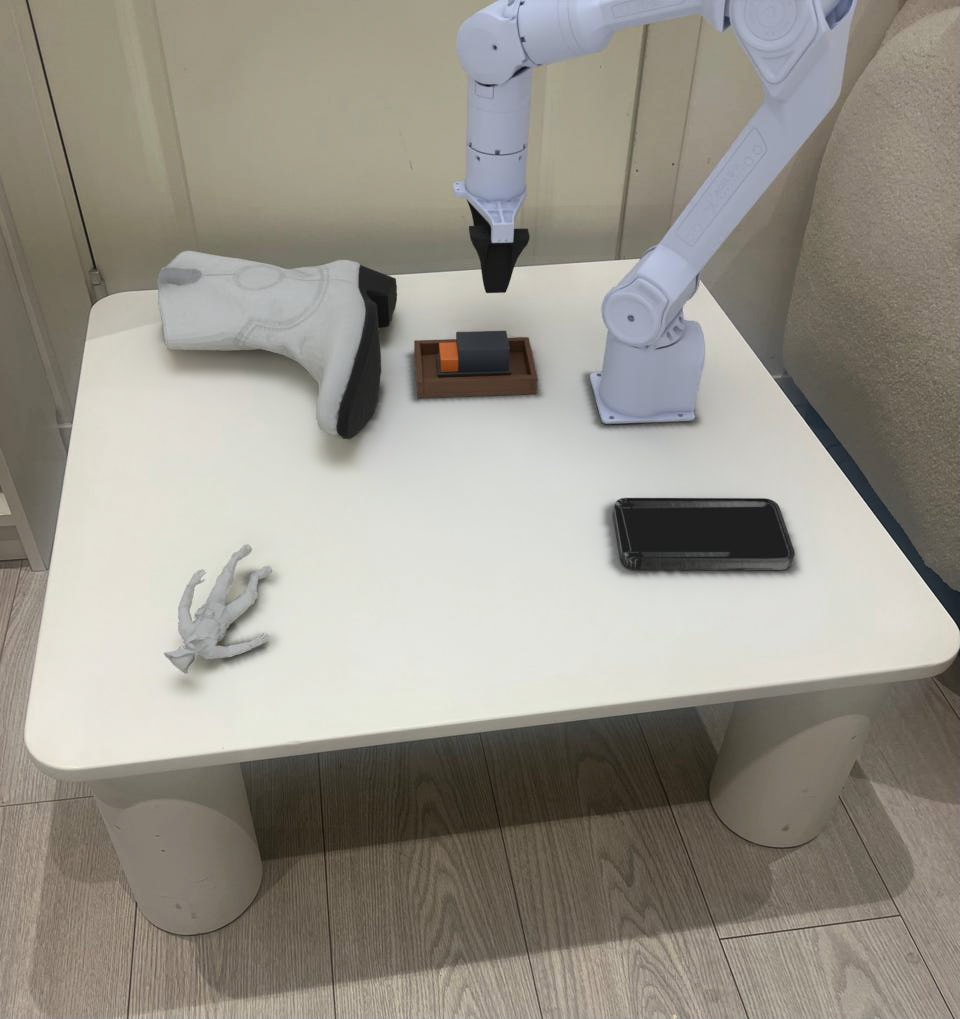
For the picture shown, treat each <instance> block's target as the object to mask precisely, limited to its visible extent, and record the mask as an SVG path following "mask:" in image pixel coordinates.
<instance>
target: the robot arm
mask: <svg viewBox="0 0 960 1019" xmlns="http://www.w3.org/2000/svg"><path fill="white" fill-rule="evenodd" d="M857 2H858V0H496V1H494V2H493V3H491V4H489V5H487V6H485V7H484V8H482V9H481V10H478V11H476V12H475V13H474V14H472V15H470V16H469V17H468V18H467V19H465V21H463V22H462V23H461V25H460V26H459V29H458V30H457V34H456V37H455V50H456V51H455V52H456V55H457V60H458V61H459V64H460V65H461V67H462V69H463V70H464V72H465V73H466V74H467V85H466V86H467V89H466V90H467V91H466V93H467V95H466V138H465V139H466V141H465V142H466V143H465V144H466V145H465V180H463V181H455V182H454V183H453V184H452V191H453V196H454V198H455V199H456V198H457V199H465V200H466V202H467V204H468V207H469V210H470V213H471V218H472V224H473V225H469V226H468V234H469V239H470V241H471V244H472V246H473V247H474V249H475V251H476V254H477V256H478V259H479V263H480V271H481V278H482V284H483V288H484V291H485V293H486V294H505V293H507V291H508V289H509V286H510V282H511V279H512V277H513V272H514V270H515V267H516V263H517V261H518V259H519V258H520V255H521V254H522V252H523V251H524V250H525V248H526V247H527V246H528V244H529V241H530V238H531V237H530V235H531V234H530V231H529V228H515V221H516V219H517V217H518V215H519V212H520V211H521V208H522V207H523V205H524V202H525V201H526V198H527V194H528V185H527V183H526V178H527V166H528V164H527V163H528V147H529V129H530V116H531V115H530V114H531V113H530V112H531V100H532V82H533V73H534V68H541V67H544V66H549V65H554V64H557V63H561V62H565V61H570V60H573V59H577V58H581V57H582V58H583V57H586V56H590V55H593V54H598V53H601V52H603V51H605V50H606V49H607V48H608V46H609V45H610V43H611V41H612V39H613V37H614V35H615V33H616V32H617V31H621V30H626V29H631V28H635V27H640V26H646V25H651V24H655V23H660V22H664V21H668V20H669V21H670V20H673V19H678V18H679V19H680V18H682V17H687V16H688V17H689V16H693V15H700V16H701V17H702V18H703V19H704V20H705V21H706V22H707V23H708V24H709V25H710V26H711V27H712V28H713V29H714V30H715V31H717V32H718V33H720V34H723V33H724V32H725V31H726V30H728V29H729V28H730V27H731V30H732V32H733V34H734V36H735V39H736V41H737V43H738V44H739V45H740V48H741V49H742V51H743V52H744V54H745V56H746V58H747V59H748V61H749V62H750V64H751V66H752V68H753V69H754V71H755V73H756V74H757V75H758V77H759V80H760V83H761V89H762V92H763V96H764V98H763V99H764V100H763V102H762V103H761V104H760V106H759V107H758V108H757V110H756V111H755V113H754V114H753V115H752V117H751V118H750V119H749V121H748V122H747V123H746V125H745V126H744V128H743V129H741V131H740V132H739V134H738V135H737V137H736V138H735V139H734V141H733V142H732V144H731V145H730V147H729V148H728V149H727V151H726V152H725V153H724V155H723V156H722V157H721V158H720V160H719V162H717V164H716V165H715V167H714V168H713V169H712V171H711V172H710V174H709V175H708V177H707V178H706V179H705V180H704V182H703V183H702V184H701V186H700V187H699V188H698V190H697V191H696V193H695V194H694V195H693V197H692V198H691V200H690V201H689V202H688V204H687V205H686V206H685V207H684V209H683V210H682V211H681V213H680V214H679V215H678V217H677V218H676V220H675V221H674V222H673V224H672V225H671V226H670V228H669V229H668V231H667V232H666V233H665V235H664V236H663V237H662V239H661V240H660V241H659V243H658V244H655V245H653V246H651V247H649V248H647V249H646V250H645V251H644V252H643V254H642V255H641V256H640V258H639V261H638V262H636V264H634V266H633V267H632V268H631V269H630V271H628V272H627V274H626V275H624V277H623V278H622V279H621V280H620V281H619V282H618V283H617V285H615V286H614V287H612V288H611V289H610V290H609V291H607V293H606V294H605V296H604V298H603V300H602V303H601V308H600V309H601V310H600V311H601V318H602V321H603V323H604V325H605V327H606V329H607V334H606V340H605V346H604V347H605V348H604V354H603V360H602V361H603V362H602V369H601V372H599V371H598V372H591V373H590V374H589V381H590V385H591V388H592V392H593V395H594V399H595V402H596V405H597V410H598V413H599V418H600V420H601V422H602V423H603V424H606V425H612V424H638V423H643V424H644V423H665V422H666V423H667V422H692V421H694V420H695V418H696V413H695V411H694V410H695V407H696V402H697V397H698V393H699V389H700V383H701V380H702V376H703V371H704V367H705V366H704V365H705V360H706V359H705V357H706V341H705V336H704V331H703V328H702V326H701V324H700V322H698V321H696V320H689V319H685V316H684V306H685V305H686V304H687V302H688V301H690V300H691V299H692V298H693V297H694V296H695V294H696V293H697V291H698V289H699V286H700V282H701V276H702V272H703V269H704V268H705V266H706V265H707V264H708V262H710V260H711V258H712V257H713V256H714V255H715V253H716V252H717V251H718V250H719V249H720V247H721V246H722V245H723V244H724V243H725V241H726V240H727V239H728V237H730V235H731V234H732V233H733V231H734V230H736V228H737V226H738V225H739V224H740V223H741V221H743V219H744V218H745V217H746V215H747V214H748V213H749V212H750V210H751V209H752V208H753V207H754V205H755V204H756V203H757V201H758V200H759V199H760V198H761V197H762V196H763V194H764V193H765V192H766V191H767V189H769V187H770V185H771V184H772V183H773V182H774V181H775V179H777V177H778V176H779V175H780V173H781V172H782V171H783V170H784V169H785V167H786V166H787V164H788V163H789V162H790V161H791V159H792V158H793V157H795V155H796V153H797V152H798V151H799V150H800V148H802V146H803V145H804V144H805V142H806V141H807V140H808V139H809V138H810V136H811V135H812V133H813V132H814V131H815V130H816V128H818V126H819V125H820V123H821V122H822V121H824V119H825V118H826V116H827V115H828V114H829V113H830V111H831V110H832V109H833V108H834V106H835V105H836V103H837V101H838V99H839V97H840V95H841V93H842V92H841V91H842V86H843V78H844V74H845V73H844V71H845V66H846V58H847V52H848V44H849V38H850V30H851V25H852V20H853V17H854V15H855V11H856V7H857Z"/></svg>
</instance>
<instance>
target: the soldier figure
mask: <svg viewBox="0 0 960 1019" xmlns="http://www.w3.org/2000/svg"><path fill="white" fill-rule="evenodd" d="M252 550H253V548H252V546H251V545H250V544H248V543H247V544H243V545H242V547H241V548H240V549H239V550H237V551H236V552H235V551H234V552H233V553H232V555H231V557H230V559H229V560H228V562H227V563H226V564H225V565H224V567H223V568H222V571H221V573H220V574H219V575H218V576H217V577H216V581H215V584H214V586H213V587H212V589H211V590H210V593H209V594H208V597H207V598H206V600H205V603H203V604H202V605H201V606H200V608H197V610H196V612H195V613H194V616H193V618H194V620H193V618H192V615H191V612H190V610H191V608H192V603H193V599H194V593H195V588H196V586H198V585H201V584H202V583H204V582H205V580H206V579H202V578H203V577H204V576H205V574H207V571H206V570H205V569H203V568H201V569H198V570H197V571H196V572H195V573H193V574H192V576H191V579H190V580H189V582H188V584H186V585H185V589H184V591H183V593H182V596H181V599H180V601H179V605H178V607H177V619H178V622H177V624H178V625H177V626H178V627H177V628H178V630H177V632H178V634H179V635H180V636H181V639H182V643H183V646H179V647H178V648H177V649H176V650H173V651H167V652H163V655H164V657H165V658H167V659H168V660H169V661H170V663H171V664H172V665H173V666H174V667H175V668H177V669H178V670H179V671H181V672H182V673H183V674H185V675H187V674H188V673H189V670H190V666H192V665H193V664H194V663H195V662H196V660H197V656H200V657H202V658H203V659H206V660H213V659H214V660H216V659H224V658H231V657H234V656H238V655H241V654H244V653H246V652H248V651H251V650H252V649H254V648H256V647H259V646H262V645H263V644H265V643H267V642H268V641H269V640H270V638H269V635H268V634H267V633H264V632H262V633H261V634H259V635H258V636H256V637H255V638H254V639H252V640H251V641H244V642H240V643H236V644H230V645H226V646H224V645H220V644H219V645H218V642H220V641H222V640H223V639H224V637H225V636H226V634H227V629H229V627H230V625H231V624H233V623H234V622H235V621H236V620H237V619H238V618H239V617H241V616H242V615H243V614H245V612H246V611H247V610H248V609H249V607H251V606H252V605H254V604H255V602H256V600H258V597H259V592H258V585H259V581H260V580H262V579H264V578H267V577H269V576H271V574H272V573H273V568H272V567H271V566H269V565H265V566H263V567H262V568H261V569H260V570H258V571H253V572H251V574H250V575H249V581H248V584H247V586H246V588H245V590H243V594H241V595H238V597H237V598H236V599H235V600H233V601H232V602H229V603H227V601H228V600H227V599H228V593H229V591H230V590H231V588H232V586H233V583H234V580H235V577H234V576H235V570H236V568H237V565H238V562H240V561H241V560H242V559H243V558H246V557H247V556H249V555H250V554H251V553H252ZM201 579H202V580H201Z"/></svg>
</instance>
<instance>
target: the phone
mask: <svg viewBox="0 0 960 1019" xmlns="http://www.w3.org/2000/svg"><path fill="white" fill-rule="evenodd" d="M612 517H613V523H614V529H615V534H616V539H617V540H616V542H617V547H618V552H619V559H620V561H621V564H622V565H623V567H624V566H625V567H626V568H628V569H630V570H638V571H639V570H640V571H641V570H645V571H646V570H649V571H650V570H652V571H653V570H658V571H659V570H662V571H663V570H664V571H665V570H667V571H669V570H670V571H671V570H672V571H673V570H674V571H675V570H678V571H679V570H683V571H685V570H687V571H689V570H691V571H692V570H696V571H698V570H699V571H704V570H705V571H706V570H710V571H711V570H713V571H716V570H718V571H719V570H720V571H722V570H723V571H724V570H725V571H728V570H731V571H733V570H735V571H736V570H737V571H740V570H744V571H754V570H755V571H758V570H761V571H763V570H764V571H766V570H767V571H768V570H769V571H770V570H771V571H773V570H774V571H778V570H779V571H781V570H787V569H788V568H790V567H791V566H792V563H793V560H794V558H795V554H796V553H795V549H794V546H793V543H792V540H791V537H790V533H789V531H788V528H787V525H786V522H785V518H784V517H783V513H782V510H781V507H780V505H779V504H778V503H777V502H776V501H774V500H773V499H769V498H766V497H765V498H764V497H762V498H761V497H755V498H754V497H753V498H752V497H621V498H618V499H617V500H616V501H615V503H614V506H613V511H612Z"/></svg>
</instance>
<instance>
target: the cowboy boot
mask: <svg viewBox="0 0 960 1019" xmlns="http://www.w3.org/2000/svg"><path fill="white" fill-rule="evenodd" d="M156 285H157V306H158V310H159V314H160V318H161V322H162V329H163V330H162V331H163V332H162V333H163V342H164V345H165V348H166V349H170V350H183V351H184V350H186V351H220V352H221V351H223V352H224V351H227V352H228V351H253V350H263V351H267V352H271V353H274V354H278V355H282V356H285V357H286V358H289V359H290V360H293V361H295V362H297V363H299V365H300V366H302V367H303V368H304V369H305V370H306V372H308V373H309V374H310V376H311V377H312V378H313V379H314V381H315V382H316V383H317V384H318V396H317V402H316V409H315V411H316V412H315V416H316V417H315V418H316V422H317V423H316V424H317V427H318V428H319V430H321V431H322V432H323V433H325V434H327V435H331V436H339V437H340V438H341V439H343V440H350V441H351V440H352V439H354V438H355V437H356V436H358V434H359V433H360V432H361V431H362V430H363V429H364V428H365V426H366V425H367V424H368V423H369V421H370V419H371V418H372V417H373V414H374V412H375V410H376V407H377V405H378V399H379V393H380V385H381V375H382V350H381V349H382V348H381V336H380V335H381V334H380V329H384V328H388V327H390V325H391V322H392V320H393V316H394V313H395V310H396V306H397V301H398V291H397V290H398V284H397V278H395V277H392V276H391V275H389V274H386V273H382V272H380V271H378V270H375V269H372V268H369V267H367V266H365V265H362V264H361V263H360V262H357V261H353V260H349V259H338V260H334V261H332V262H328V263H325V264H321V265H312V266H302V267H296V268H284V267H282V266H278V265H274V264H270V263H265V262H258V261H253V260H249V259H242V258H238V257H237V258H236V257H231V256H222V255H218V254H209V253H206V252H205V253H204V252H200V251H199V252H198V251H194V250H184V251H181V252H180V253H179V254H177V255H176V256H175V257H174V258H173V259H172V260H171V261H169V263H168V264H167V265H166V266H164V267H161V270H160V271H159V274H158V277H157V284H156Z"/></svg>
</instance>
